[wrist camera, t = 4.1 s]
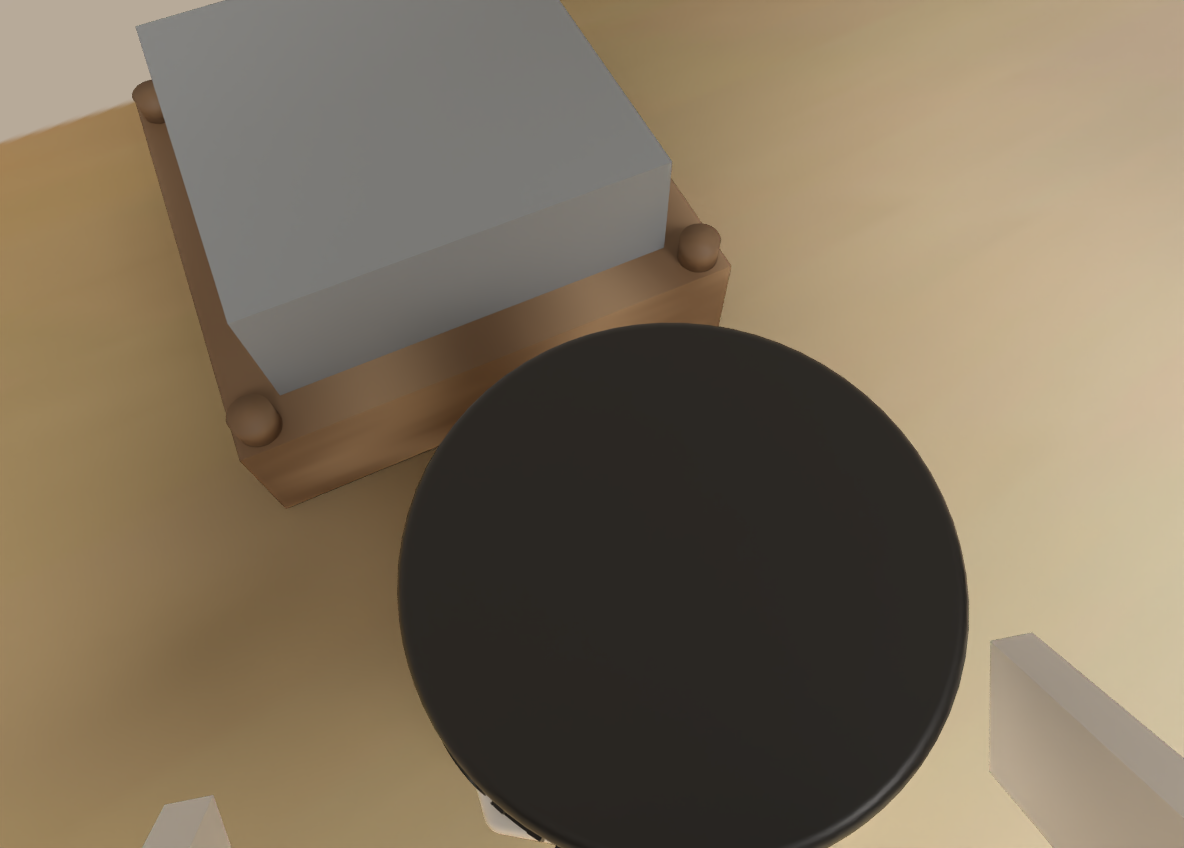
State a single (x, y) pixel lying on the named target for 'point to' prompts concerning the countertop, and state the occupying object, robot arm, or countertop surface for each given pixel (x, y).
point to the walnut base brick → (418, 348)
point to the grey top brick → (397, 167)
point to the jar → (681, 596)
